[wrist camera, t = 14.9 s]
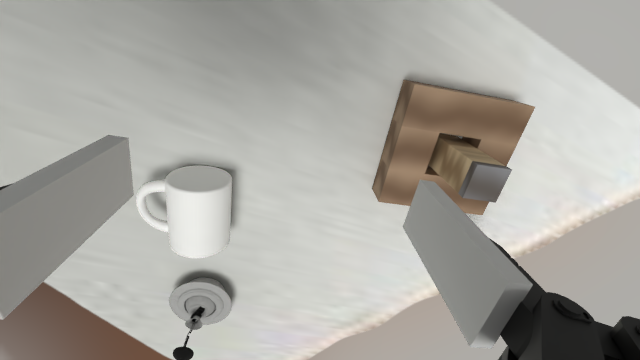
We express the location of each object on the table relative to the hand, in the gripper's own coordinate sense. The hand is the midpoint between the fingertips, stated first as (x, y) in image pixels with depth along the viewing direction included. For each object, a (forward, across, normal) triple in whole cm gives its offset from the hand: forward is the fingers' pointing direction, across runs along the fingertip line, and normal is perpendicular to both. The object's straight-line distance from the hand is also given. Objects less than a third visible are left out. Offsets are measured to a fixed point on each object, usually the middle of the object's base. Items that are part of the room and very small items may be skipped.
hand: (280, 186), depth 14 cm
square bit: (+27, +22, -4) cm, 35 cm away
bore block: (+27, +22, -4) cm, 35 cm away
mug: (+27, -12, -17) cm, 34 cm away
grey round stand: (+27, -10, -36) cm, 46 cm away
